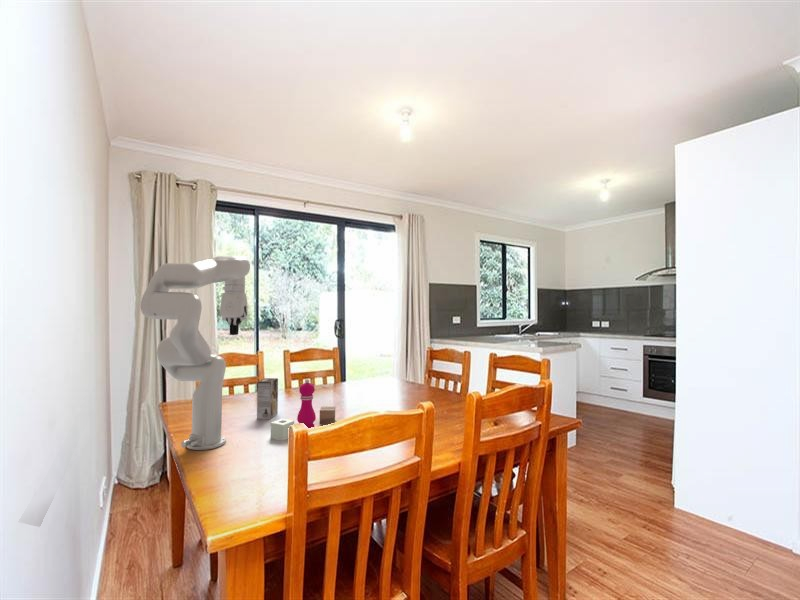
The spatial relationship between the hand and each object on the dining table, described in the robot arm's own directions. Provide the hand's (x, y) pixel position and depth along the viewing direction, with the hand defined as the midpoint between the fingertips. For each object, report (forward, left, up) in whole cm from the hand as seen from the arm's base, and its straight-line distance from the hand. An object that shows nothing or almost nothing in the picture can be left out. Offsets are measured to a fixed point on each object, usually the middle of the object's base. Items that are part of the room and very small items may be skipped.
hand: (233, 334), depth 162 cm
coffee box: (+17, -5, -37) cm, 41 cm away
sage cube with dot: (-5, -26, -37) cm, 46 cm away
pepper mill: (+6, -30, -37) cm, 48 cm away
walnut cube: (+17, -34, -37) cm, 53 cm away
